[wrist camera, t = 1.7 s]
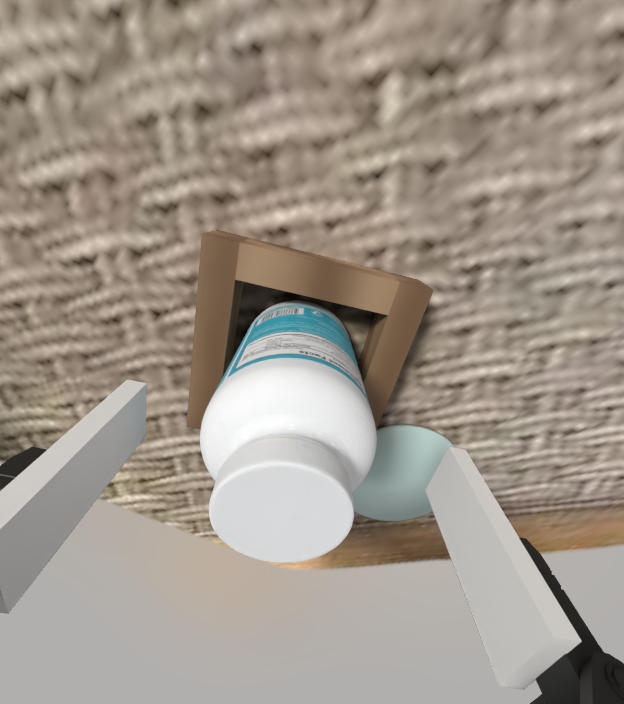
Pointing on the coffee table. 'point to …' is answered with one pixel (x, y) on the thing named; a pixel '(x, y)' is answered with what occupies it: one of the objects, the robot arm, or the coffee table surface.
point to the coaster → (400, 473)
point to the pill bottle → (288, 436)
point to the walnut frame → (308, 280)
